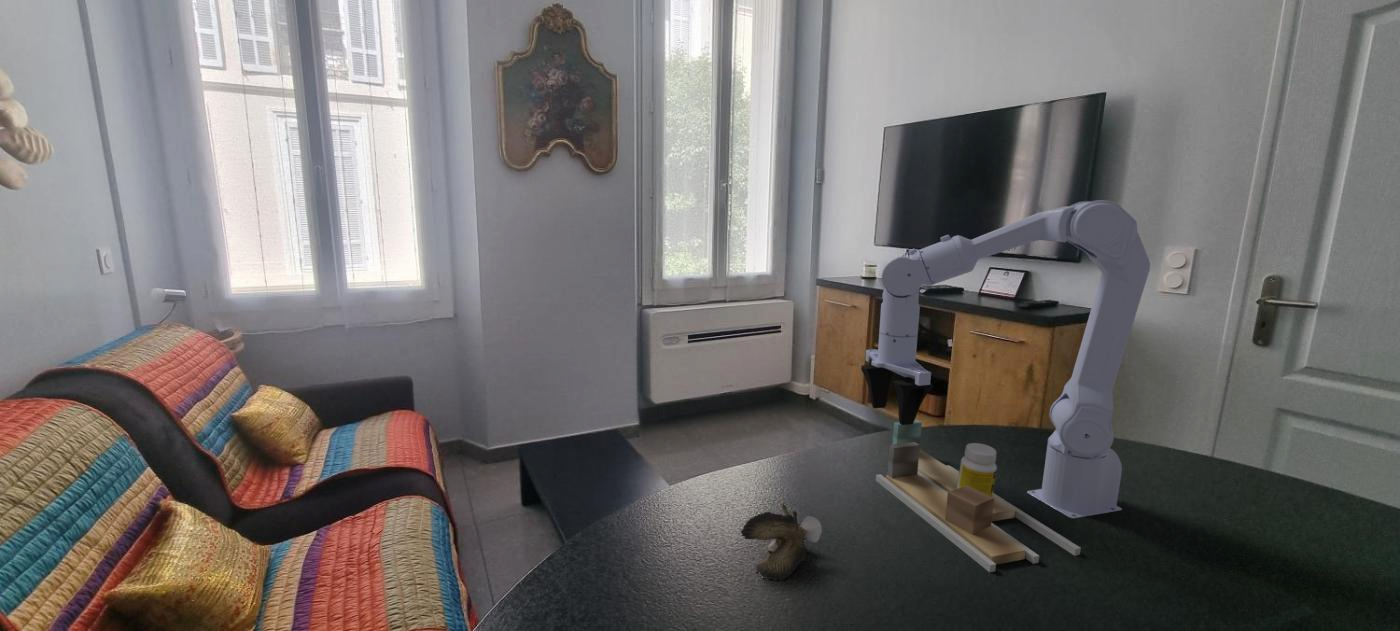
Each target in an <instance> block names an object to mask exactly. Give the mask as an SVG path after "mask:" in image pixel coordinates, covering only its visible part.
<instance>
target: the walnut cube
mask: <svg viewBox="0 0 1400 631" xmlns="http://www.w3.org/2000/svg"><path fill="white" fill-rule="evenodd" d="M993 505H994V498H993V497H991V496H989V495H986V494H984V493H982V492H980V491H978V490H976V489H973V488H971V487H969V486H967V485H966V486H964V487H961V488H958V489H956V490H953V491H950V492H948V495H947V505H946V516H945V520H946V521H948V522H950V523H951V524H953V525H955V526H957V527H959V528H961V529H963V530H965V531H966V532H968V533H970V534H972V535H973V534H975V533H977V532H979V531H981V530H984V529H986V528H988V527H990V526H991V523H993V521H992V514H993Z"/></svg>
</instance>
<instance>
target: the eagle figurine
mask: <svg viewBox="0 0 1400 631" xmlns="http://www.w3.org/2000/svg"><path fill="white" fill-rule="evenodd" d="M781 509H782V512H784V514H781V513H777V514H776V513H772V512H770V511H764V513H763V512H760V514H759V513H758V514H757V515H755V516H753V517H750V518H749V520H747V521H746V522H745V524H744V525H743V526H742V529H741V531H740V534H741V537H744V538H743V539H744V540H759V541H768V540H773V541H771V543H770V544H769V545H768V548H767V552H768V551H769V552H771V553H770V554H769V555H768V556H767V557H766V558H765V559H763V560H762V561H761V562H759V563H757V564H756V565H755V566H754V568H755V572H756V571H757V572H760V574H761V575H762V576H763V577H765V578H766V577H767V579H772V580H774V581H775V580H777V579H778V580H780V581H782V580H785V579H786V578H788V577H790V575H793V573H794V571H796V570H795V569H797V566H799V565H800V563H801V562H802V561H804V560H805V559H806V557H807V554H808V553H807V548H806V545H805V541H807V542H810V543H814V544H816V543H817V542H819V540H820V538H821V535H822V534H823V530H822V528H823V526H822V523H821V522H820V520H818V519H817V518H816V517H814V516H811V515H807V516H806V517H804V519H803V520H802V522H801V523H800V524H799V523H798V515H797V512H796V511H795V510H792V514H790V512H789V511H788V509H787V506H786V504H785V503H784V502H783V503H781ZM773 578H774V579H773ZM767 579H766V580H767ZM778 580H777V581H778Z"/></svg>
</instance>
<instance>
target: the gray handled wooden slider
mask: <svg viewBox="0 0 1400 631" xmlns="http://www.w3.org/2000/svg"><path fill="white" fill-rule="evenodd" d="M892 444H893V443H892ZM892 444H889V446H888V458H887V471H886V472H887V474H886V475H885V478H886V479H887V480H889V481H890V482H891V483H893V484H894V485H895V486H896V487H898V488H899V489H900V490H902V491H903V492H904V493H905V494H907V495H908V496H909V497H911V498H912V499H913V500H914V501H916V502H917V503H918V504H920V505H921V506H922V507H923V508H925V509H926V510H927V511H929V512H930V513H931V514H932V515H934V516H935V517H936V518H938V519H939V520H940V521H941V522H943V523H944V524H945V525H946V526H948V527H949V528H950V529H952V530H953V531H954V532H955V533H957V534H958V535H959V536H961V537H962V538H963V539H964V540H966V541H967V542H968V543H970V544H971V545H972V546H973V547H975V548H976V549H977V550H979V551H980V552H981V553H982V554H984V555H985V556H986V557H988V558H989V559H990V560H991V561H993V562H994V563H995V564H996V565H1001V564H1007V563H1011V562H1012V563H1013V562H1016V561H1021V560H1026V558H1025V552H1026V550H1025V549H1023V548H1022V547H1020V546H1019V545H1018V544H1016V543H1015V542H1013V541H1012V540H1010V539H1009V538H1008V537H1006V536H1005V535H1003V534H1002V533H1001V532H999V531H998V530H996V529H995V528H993V527H992V526H990V527H988V528H986V529H984V530H981V531H979V532H977V533H975V534H973V535H972V534H970V533H968V532H966V531H965V530H963V529H961V528H959V527H957V526H955V525H953V524H951V523H950V522H948V521H946V520H945V516H946V505H947V495H946V494H945V493H944V492H942V491H941V490H939V489H938V488H937V487H935V486H934V485H932V484H931V483H929V482H928V481H927V480H925V479H924V478H922V477H921V476H919V475H918V474H917V473H918V461H919V450H921V448H920V447H921V444H920V445H919V444H918V443H916V442H910V443H901V444H893V445H892Z"/></svg>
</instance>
